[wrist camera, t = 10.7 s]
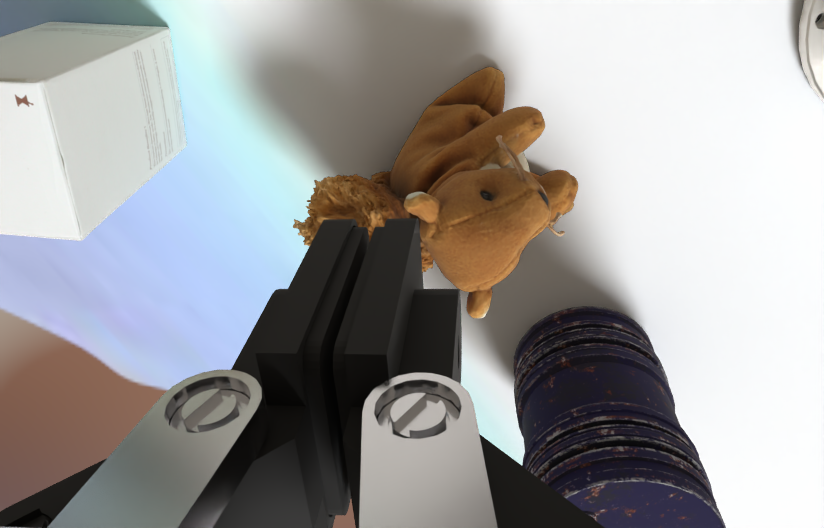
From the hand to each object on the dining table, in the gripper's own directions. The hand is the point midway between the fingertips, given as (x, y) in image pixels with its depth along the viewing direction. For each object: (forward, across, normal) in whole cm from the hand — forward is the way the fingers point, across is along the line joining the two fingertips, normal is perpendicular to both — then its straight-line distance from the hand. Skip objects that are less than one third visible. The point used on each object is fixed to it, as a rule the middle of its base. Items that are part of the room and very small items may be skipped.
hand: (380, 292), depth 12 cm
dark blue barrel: (+28, -8, +23) cm, 37 cm away
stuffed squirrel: (+28, +1, +8) cm, 29 cm away
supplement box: (+27, +20, +2) cm, 34 cm away
